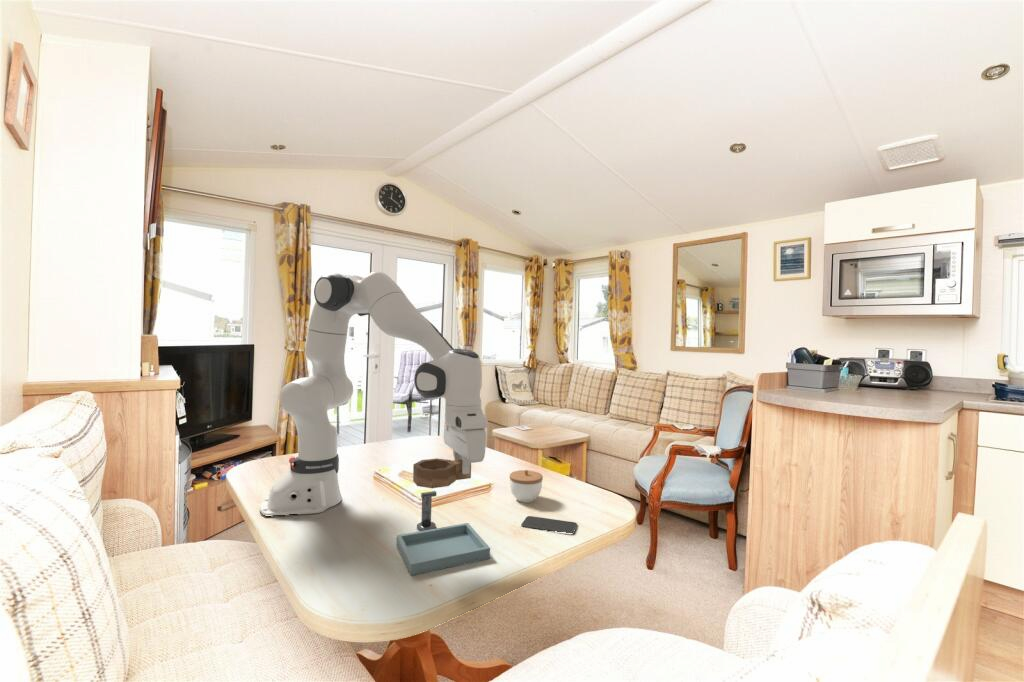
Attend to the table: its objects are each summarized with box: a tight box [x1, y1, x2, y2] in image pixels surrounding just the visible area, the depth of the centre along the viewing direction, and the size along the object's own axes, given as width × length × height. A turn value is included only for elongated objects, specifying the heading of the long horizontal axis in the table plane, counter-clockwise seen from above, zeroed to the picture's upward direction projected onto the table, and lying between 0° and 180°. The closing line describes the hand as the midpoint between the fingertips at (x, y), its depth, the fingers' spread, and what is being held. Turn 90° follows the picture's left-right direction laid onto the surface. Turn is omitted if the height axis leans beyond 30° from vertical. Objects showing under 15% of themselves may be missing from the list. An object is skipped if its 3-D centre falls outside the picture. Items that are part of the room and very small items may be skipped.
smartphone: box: [520, 515, 578, 533], centre depth 126 cm, size 7×1×15 cm
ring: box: [412, 457, 472, 489], centre depth 109 cm, size 14×9×4 cm
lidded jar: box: [509, 469, 544, 503], centre depth 145 cm, size 11×11×9 cm
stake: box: [416, 490, 437, 532], centre depth 123 cm, size 5×5×10 cm
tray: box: [395, 522, 491, 576], centre depth 110 cm, size 19×15×2 cm
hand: (461, 470), depth 111 cm, fingers closed on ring, 3 cm apart
